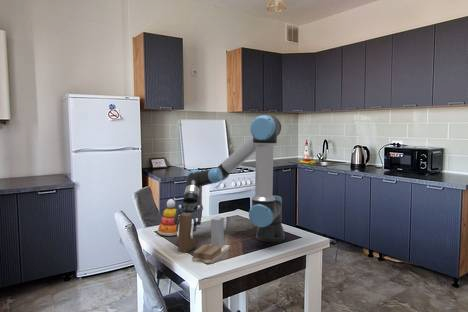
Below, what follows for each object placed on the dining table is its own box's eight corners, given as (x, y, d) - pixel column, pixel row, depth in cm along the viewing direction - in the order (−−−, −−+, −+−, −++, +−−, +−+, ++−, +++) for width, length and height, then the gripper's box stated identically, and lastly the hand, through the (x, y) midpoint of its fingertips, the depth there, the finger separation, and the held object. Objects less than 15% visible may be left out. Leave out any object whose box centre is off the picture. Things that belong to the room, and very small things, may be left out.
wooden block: (187, 245, 175) (189, 210, 173) (195, 247, 173) (197, 211, 171) (177, 251, 167) (179, 214, 165) (186, 253, 165) (187, 215, 163)
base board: (229, 248, 172) (229, 240, 171) (213, 263, 152) (213, 254, 152) (210, 246, 175) (210, 238, 175) (192, 260, 155) (192, 252, 155)
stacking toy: (152, 234, 195) (151, 199, 194) (171, 228, 207) (170, 195, 205) (169, 238, 187) (169, 202, 185) (188, 232, 198) (188, 198, 197)
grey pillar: (223, 245, 172) (223, 216, 171) (219, 248, 166) (218, 219, 165) (216, 244, 173) (215, 216, 172) (211, 248, 168) (211, 219, 167)
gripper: (210, 200, 183) (205, 241, 168) (174, 199, 184) (166, 240, 169) (208, 192, 177) (203, 233, 162) (172, 191, 179) (163, 232, 164)
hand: (184, 236), depth 166 cm, fingers closed on wooden block, 6 cm apart
